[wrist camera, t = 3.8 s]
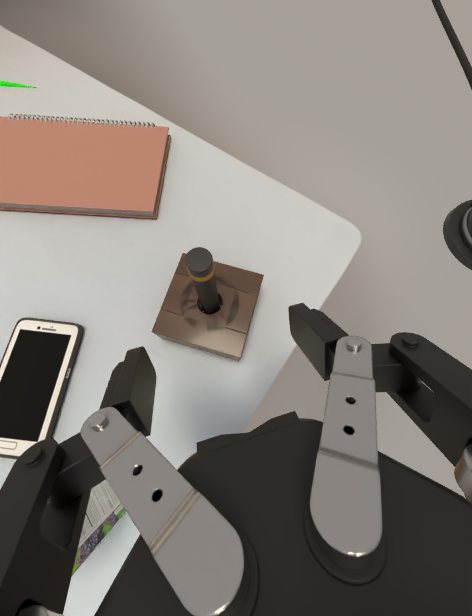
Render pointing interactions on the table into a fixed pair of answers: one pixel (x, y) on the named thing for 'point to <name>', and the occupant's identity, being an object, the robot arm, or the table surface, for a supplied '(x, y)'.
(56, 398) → the cell phone
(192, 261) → the stylus
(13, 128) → the notebook
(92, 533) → the syrup box
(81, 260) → the table surface
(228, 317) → the pen stand
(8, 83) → the green pen
